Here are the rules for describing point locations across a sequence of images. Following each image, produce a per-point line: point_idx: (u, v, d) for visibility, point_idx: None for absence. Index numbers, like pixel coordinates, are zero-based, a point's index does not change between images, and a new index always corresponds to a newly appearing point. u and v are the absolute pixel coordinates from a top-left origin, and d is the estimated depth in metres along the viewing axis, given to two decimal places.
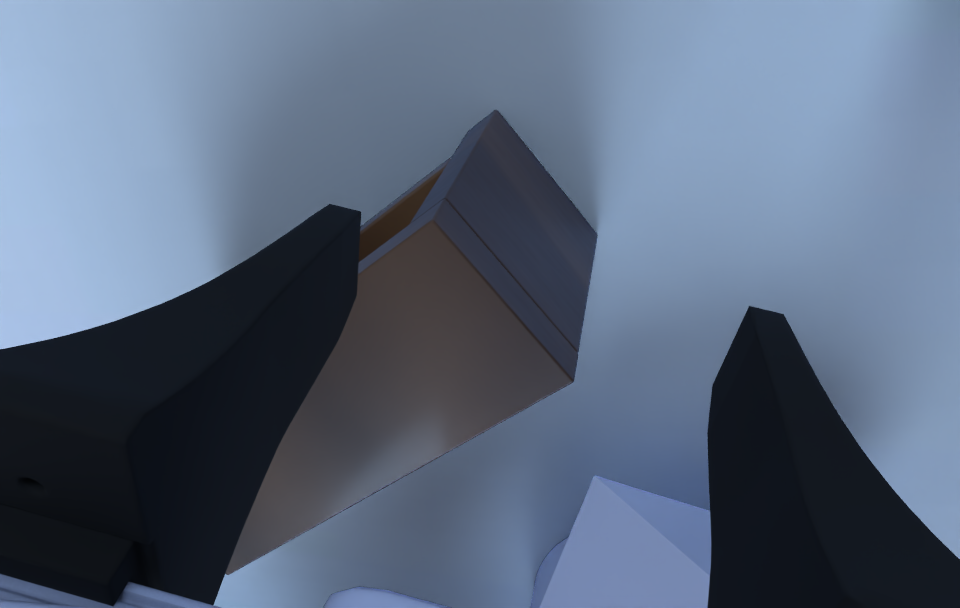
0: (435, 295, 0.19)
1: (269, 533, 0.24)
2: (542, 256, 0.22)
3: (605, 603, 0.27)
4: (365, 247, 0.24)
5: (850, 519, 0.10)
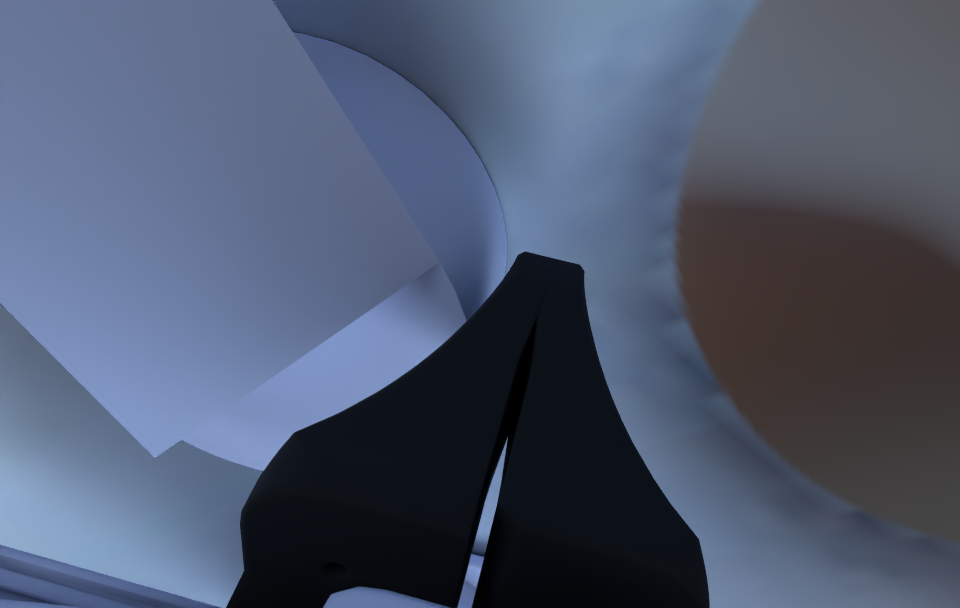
0: None
1: None
2: None
3: None
4: None
5: (556, 442, 0.10)
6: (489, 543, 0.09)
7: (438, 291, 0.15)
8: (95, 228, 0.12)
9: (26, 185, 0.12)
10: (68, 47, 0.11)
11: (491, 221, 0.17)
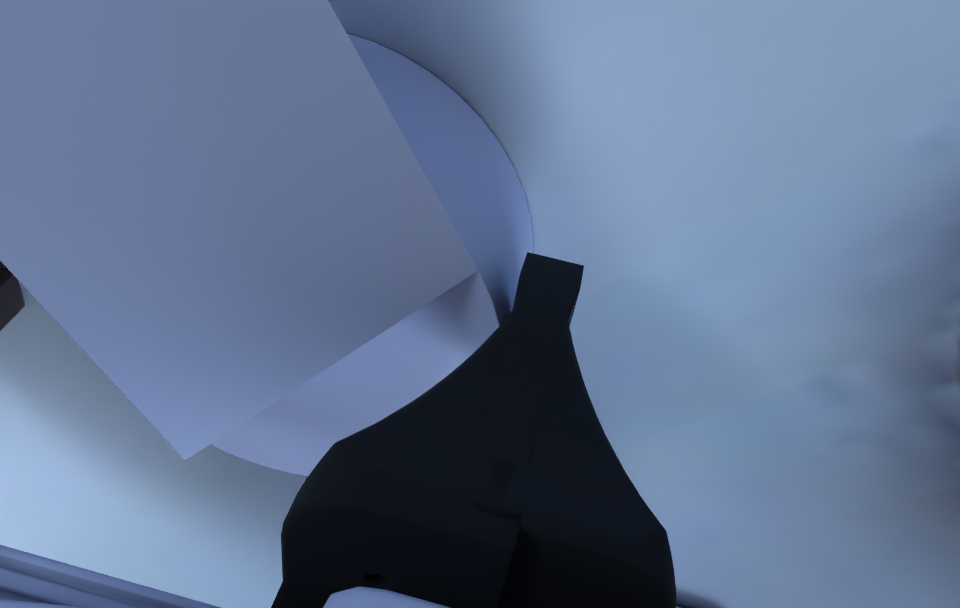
0: None
1: None
2: None
3: None
4: None
5: (527, 435, 0.10)
6: None
7: (474, 299, 0.14)
8: (138, 227, 0.12)
9: (70, 182, 0.11)
10: (121, 43, 0.11)
11: (521, 227, 0.16)
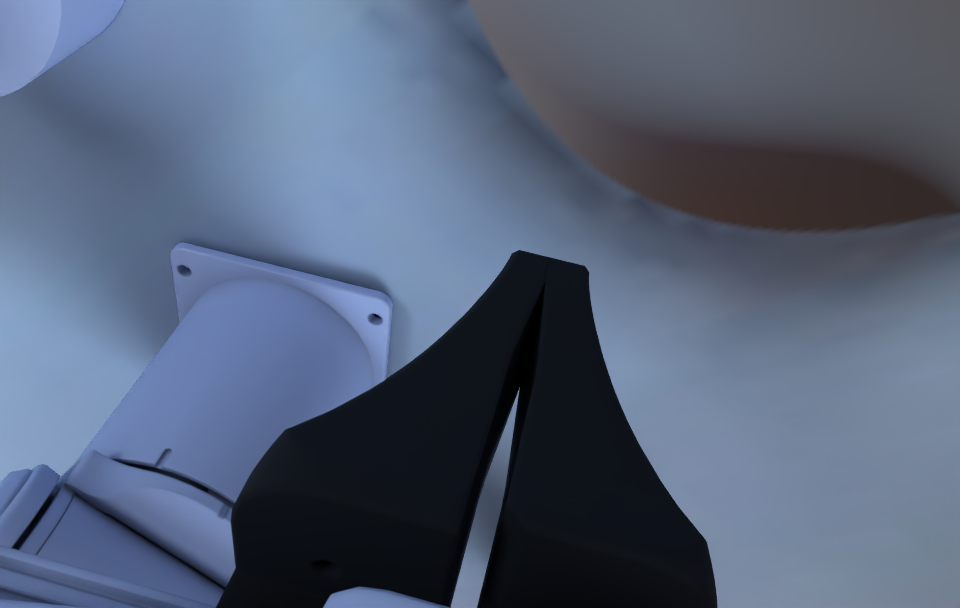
0: None
1: None
2: None
3: None
4: None
5: (562, 444, 0.10)
6: (496, 545, 0.09)
7: None
8: None
9: None
10: None
11: None
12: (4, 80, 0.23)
